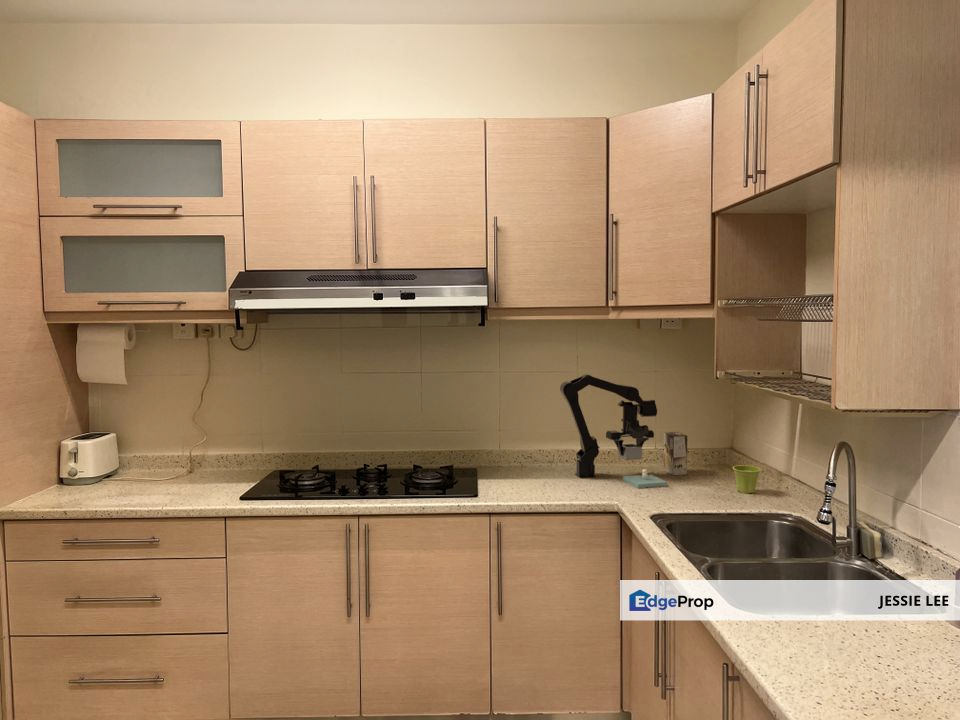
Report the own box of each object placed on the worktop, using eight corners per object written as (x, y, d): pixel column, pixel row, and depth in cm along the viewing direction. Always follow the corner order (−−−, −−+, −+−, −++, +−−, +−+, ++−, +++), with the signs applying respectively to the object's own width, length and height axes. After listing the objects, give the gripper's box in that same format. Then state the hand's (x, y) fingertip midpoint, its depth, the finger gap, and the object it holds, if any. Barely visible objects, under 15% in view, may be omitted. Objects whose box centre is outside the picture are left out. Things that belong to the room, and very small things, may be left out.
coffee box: (687, 474, 253) (688, 435, 252) (673, 475, 252) (673, 436, 251) (676, 469, 262) (677, 431, 261) (662, 470, 261) (663, 432, 260)
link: (625, 460, 249) (625, 447, 248) (618, 456, 256) (618, 444, 255) (641, 459, 250) (641, 446, 250) (633, 455, 257) (633, 443, 257)
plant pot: (757, 496, 222) (758, 472, 221) (729, 492, 227) (730, 469, 226) (762, 490, 229) (762, 467, 229) (734, 486, 235) (735, 464, 234)
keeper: (637, 488, 234) (638, 473, 233) (623, 480, 245) (623, 466, 245) (666, 486, 236) (667, 471, 236) (651, 478, 248) (651, 464, 248)
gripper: (617, 421, 242) (617, 461, 243) (661, 419, 246) (660, 458, 247) (605, 417, 253) (605, 455, 254) (647, 414, 257) (647, 452, 258)
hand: (629, 455), depth 253 cm, fingers closed on link, 7 cm apart
